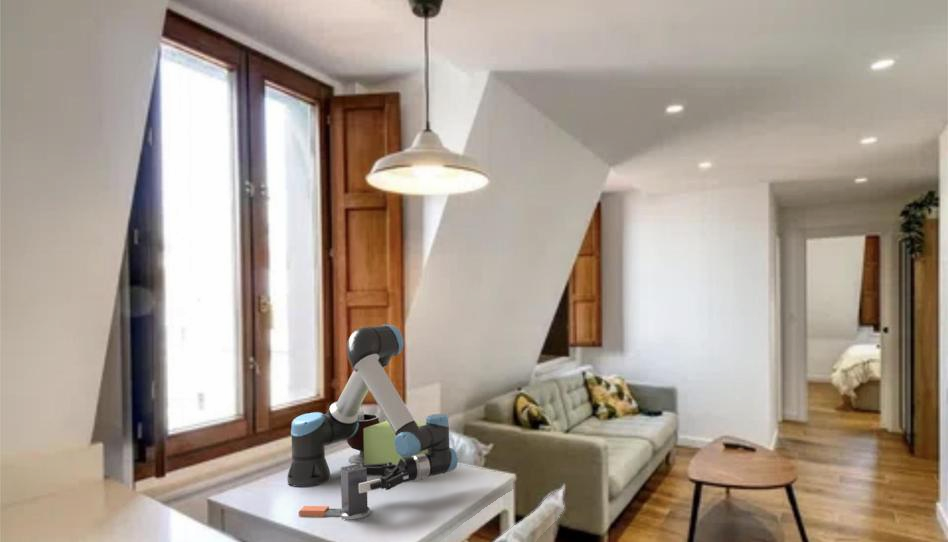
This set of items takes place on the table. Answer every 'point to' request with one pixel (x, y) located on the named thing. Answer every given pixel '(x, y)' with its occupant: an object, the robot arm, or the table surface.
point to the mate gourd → (361, 435)
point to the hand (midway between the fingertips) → (350, 482)
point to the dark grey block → (353, 489)
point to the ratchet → (330, 512)
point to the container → (382, 444)
